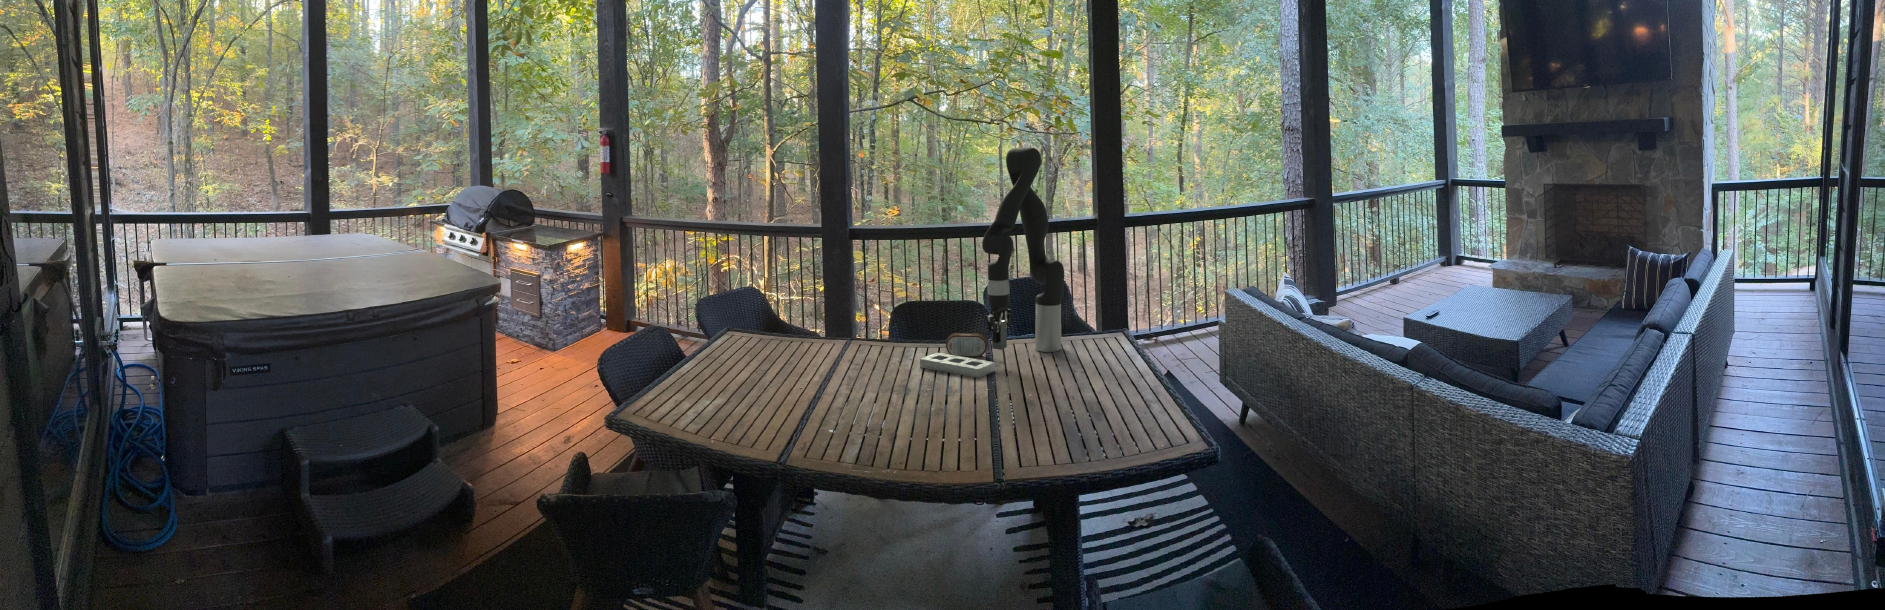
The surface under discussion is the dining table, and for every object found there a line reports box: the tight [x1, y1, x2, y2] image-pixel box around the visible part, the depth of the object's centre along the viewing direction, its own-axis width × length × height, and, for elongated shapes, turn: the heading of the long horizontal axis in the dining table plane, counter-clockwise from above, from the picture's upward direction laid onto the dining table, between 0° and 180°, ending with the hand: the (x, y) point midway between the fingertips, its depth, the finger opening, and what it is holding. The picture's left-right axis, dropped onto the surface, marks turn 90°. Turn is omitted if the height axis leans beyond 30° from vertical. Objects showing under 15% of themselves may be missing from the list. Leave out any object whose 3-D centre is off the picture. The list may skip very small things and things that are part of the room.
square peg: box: [991, 322, 1008, 351], centre depth 311 cm, size 4×4×9 cm
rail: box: [919, 352, 996, 379], centre depth 308 cm, size 10×24×3 cm, turn 54°
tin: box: [945, 332, 989, 358], centre depth 324 cm, size 15×3×8 cm, turn 84°
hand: (999, 340), depth 311 cm, fingers closed on square peg, 3 cm apart
